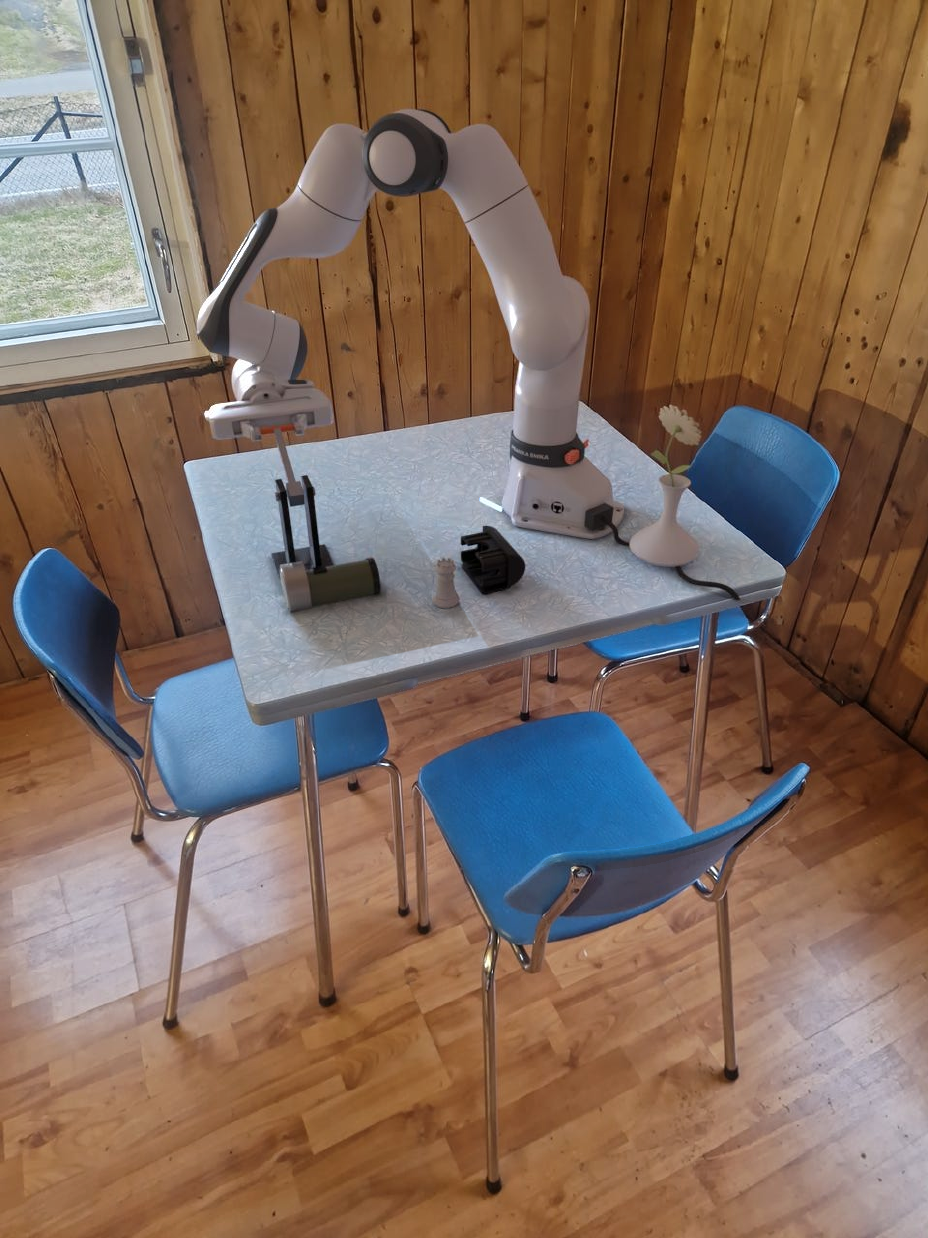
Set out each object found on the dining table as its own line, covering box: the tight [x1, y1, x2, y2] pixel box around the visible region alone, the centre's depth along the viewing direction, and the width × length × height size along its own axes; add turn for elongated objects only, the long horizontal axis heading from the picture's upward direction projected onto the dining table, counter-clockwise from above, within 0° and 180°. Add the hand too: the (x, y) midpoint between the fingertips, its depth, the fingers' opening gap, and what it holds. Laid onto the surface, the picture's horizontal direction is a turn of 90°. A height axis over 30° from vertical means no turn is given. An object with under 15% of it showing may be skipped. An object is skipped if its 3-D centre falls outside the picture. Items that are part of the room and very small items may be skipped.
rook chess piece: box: [431, 557, 461, 609], centre depth 125 cm, size 4×4×8 cm
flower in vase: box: [628, 404, 702, 568], centre depth 133 cm, size 13×11×25 cm
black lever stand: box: [270, 474, 334, 587], centre depth 131 cm, size 11×9×16 cm
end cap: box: [460, 525, 526, 596], centre depth 132 cm, size 10×7×7 cm
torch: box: [280, 556, 382, 613], centre depth 126 cm, size 14×7×7 cm, turn 110°
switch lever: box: [260, 424, 305, 508], centre depth 130 cm, size 16×6×2 cm, turn 19°
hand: (278, 433), depth 133 cm, fingers closed on switch lever, 5 cm apart
